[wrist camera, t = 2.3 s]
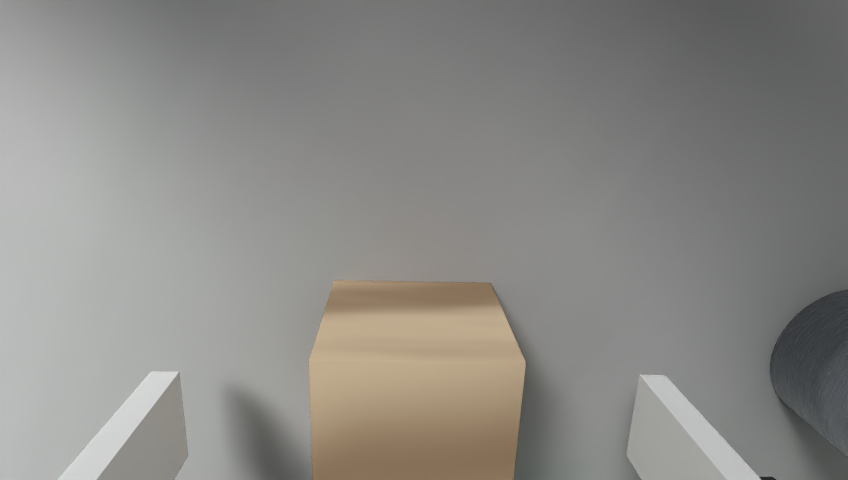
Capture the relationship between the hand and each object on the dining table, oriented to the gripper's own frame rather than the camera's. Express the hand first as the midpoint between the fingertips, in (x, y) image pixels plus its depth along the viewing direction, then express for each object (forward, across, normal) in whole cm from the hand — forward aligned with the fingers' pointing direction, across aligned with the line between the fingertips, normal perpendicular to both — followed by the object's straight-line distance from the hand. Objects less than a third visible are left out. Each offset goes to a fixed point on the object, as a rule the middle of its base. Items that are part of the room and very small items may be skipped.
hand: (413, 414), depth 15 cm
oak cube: (+3, 0, +1) cm, 3 cm away
